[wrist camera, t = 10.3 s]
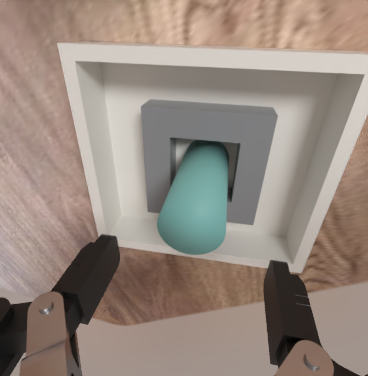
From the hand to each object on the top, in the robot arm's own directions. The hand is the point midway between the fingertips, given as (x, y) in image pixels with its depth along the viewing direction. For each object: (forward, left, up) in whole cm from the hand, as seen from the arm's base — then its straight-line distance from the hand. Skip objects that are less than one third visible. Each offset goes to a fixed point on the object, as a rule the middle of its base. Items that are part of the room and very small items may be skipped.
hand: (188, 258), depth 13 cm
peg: (0, 0, -12) cm, 12 cm away
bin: (0, 0, -13) cm, 13 cm away
